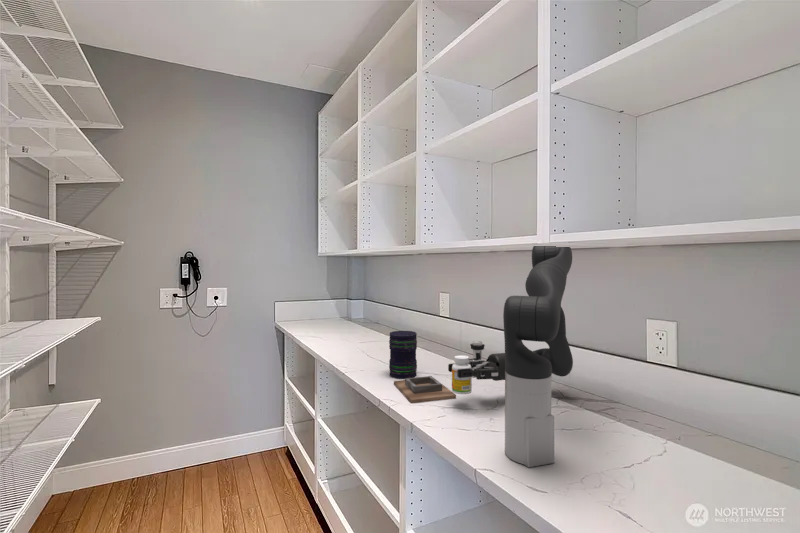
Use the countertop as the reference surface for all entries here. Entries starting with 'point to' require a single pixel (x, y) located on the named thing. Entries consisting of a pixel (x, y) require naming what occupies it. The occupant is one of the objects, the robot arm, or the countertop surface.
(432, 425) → the countertop surface
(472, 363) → the robot arm
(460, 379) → the supplement bottle
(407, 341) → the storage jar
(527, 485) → the countertop surface
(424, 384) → the dock board
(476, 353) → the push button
